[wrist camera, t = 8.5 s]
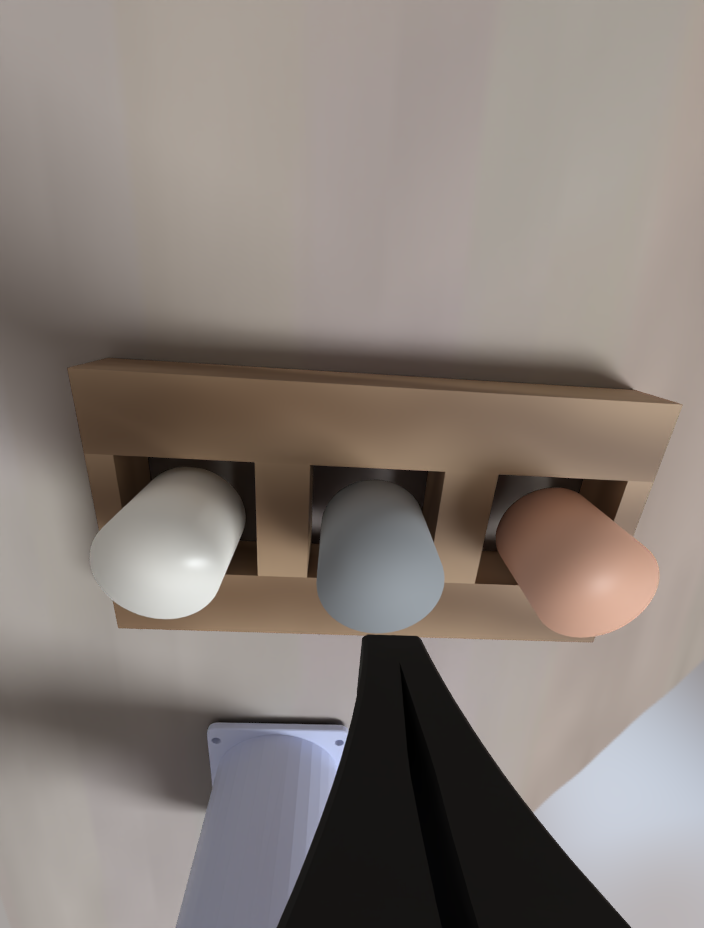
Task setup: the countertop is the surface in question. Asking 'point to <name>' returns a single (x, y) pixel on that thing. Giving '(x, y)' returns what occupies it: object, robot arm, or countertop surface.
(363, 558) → the grey rounded piece
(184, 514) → the white rounded cylinder
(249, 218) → the countertop surface
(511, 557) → the peach rounded cylinder
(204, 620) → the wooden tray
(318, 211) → the countertop surface
